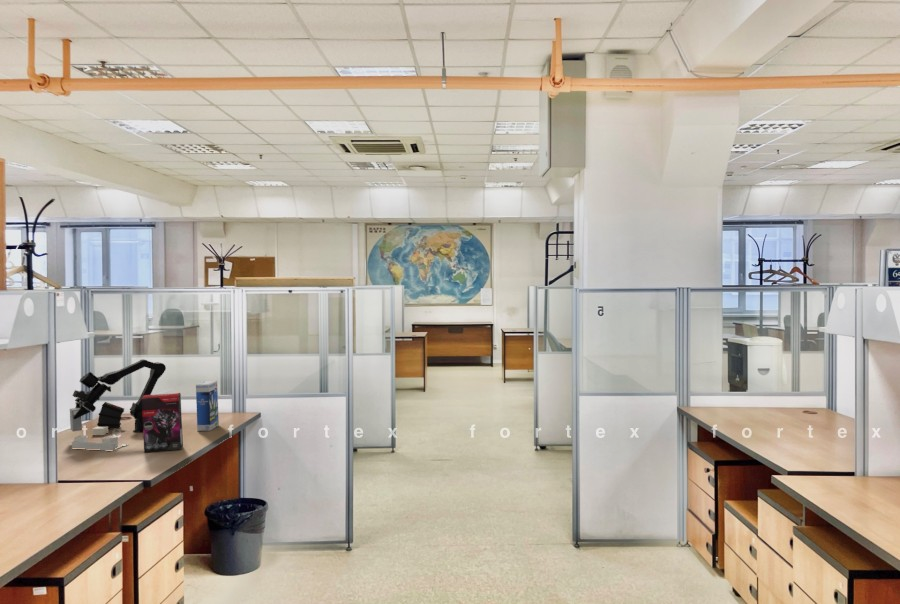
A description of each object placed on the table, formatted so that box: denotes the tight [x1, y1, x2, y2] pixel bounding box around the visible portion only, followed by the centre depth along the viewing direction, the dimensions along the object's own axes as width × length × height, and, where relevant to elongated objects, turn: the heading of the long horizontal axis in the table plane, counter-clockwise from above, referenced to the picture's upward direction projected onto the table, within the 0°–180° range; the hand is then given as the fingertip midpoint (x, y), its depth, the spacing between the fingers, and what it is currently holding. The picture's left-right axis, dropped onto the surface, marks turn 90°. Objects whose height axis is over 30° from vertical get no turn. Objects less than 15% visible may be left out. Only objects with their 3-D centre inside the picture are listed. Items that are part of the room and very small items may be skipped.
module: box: [69, 407, 83, 432], centre depth 318 cm, size 4×6×11 cm
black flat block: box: [96, 401, 125, 429], centre depth 347 cm, size 4×13×15 cm, turn 108°
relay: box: [91, 426, 109, 436], centre depth 334 cm, size 6×4×4 cm
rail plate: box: [71, 434, 129, 451], centre depth 308 cm, size 12×24×5 cm, turn 77°
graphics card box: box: [142, 392, 184, 453], centre depth 301 cm, size 17×7×27 cm, turn 105°
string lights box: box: [195, 380, 220, 432], centre depth 344 cm, size 13×8×26 cm, turn 0°
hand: (72, 417), depth 317 cm, fingers closed on module, 5 cm apart
